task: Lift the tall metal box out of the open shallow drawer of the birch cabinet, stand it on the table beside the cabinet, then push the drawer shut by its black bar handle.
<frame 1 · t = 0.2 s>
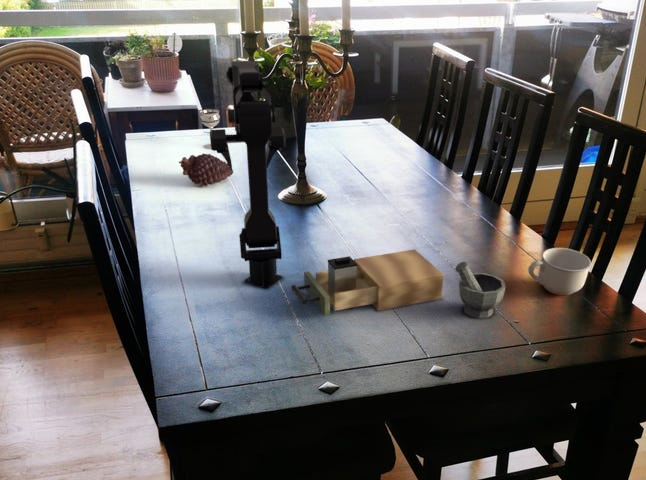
hand: (248, 167, 190), 15 cm above the table, tool pointing down, fingers open, 9 cm apart
mortar and pestle: (475, 312, 159), on the table
metal box: (341, 292, 161), point 2 cm above the table, touching drawer
wineglass: (212, 147, 256), on the table
drawer: (336, 289, 160), point 3 cm above the table, slide at 11.0 cm, touching metal box
teacup: (553, 290, 168), on the table
pine cone: (208, 184, 224), on the table
cabinet: (396, 290, 166), on the table
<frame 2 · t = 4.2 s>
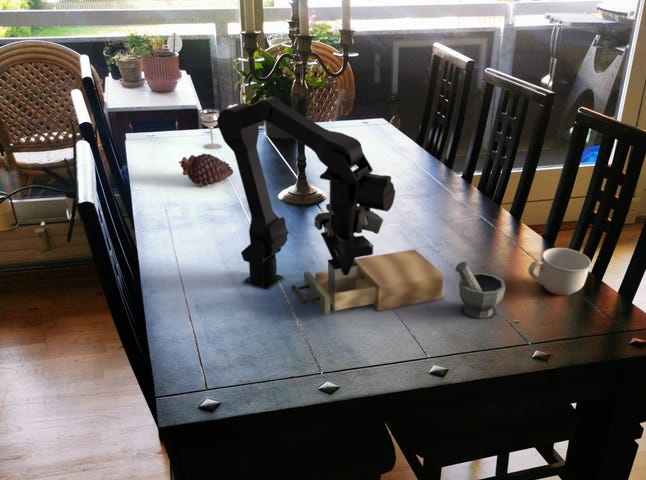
hand: (342, 270, 158), 7 cm above the table, tool pointing down, fingers closed on metal box, 4 cm apart
metal box: (341, 292, 161), point 2 cm above the table, touching drawer, gripper
everything else where it was.
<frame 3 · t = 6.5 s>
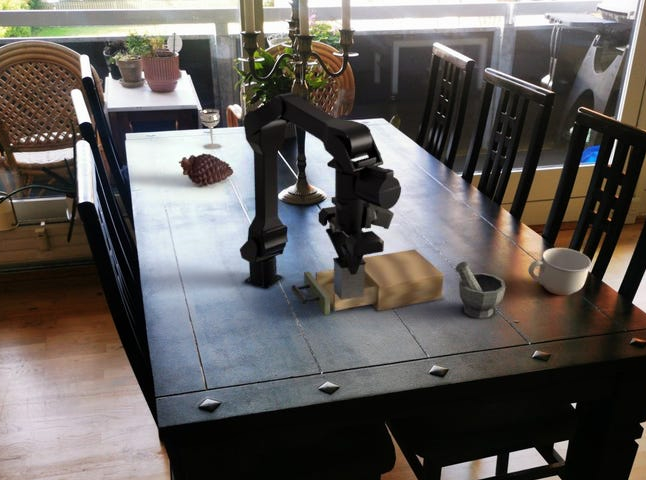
hand: (349, 269, 145), 13 cm above the table, tool pointing down, fingers closed on metal box, 4 cm apart
metal box: (348, 293, 148), point 8 cm above the table, touching gripper
drawer: (336, 289, 160), point 3 cm above the table, slide at 11.0 cm
everything else where it was.
when the fingers open (5 cm above the table, at t = 9.0 s): metal box stays where it is, on the table.
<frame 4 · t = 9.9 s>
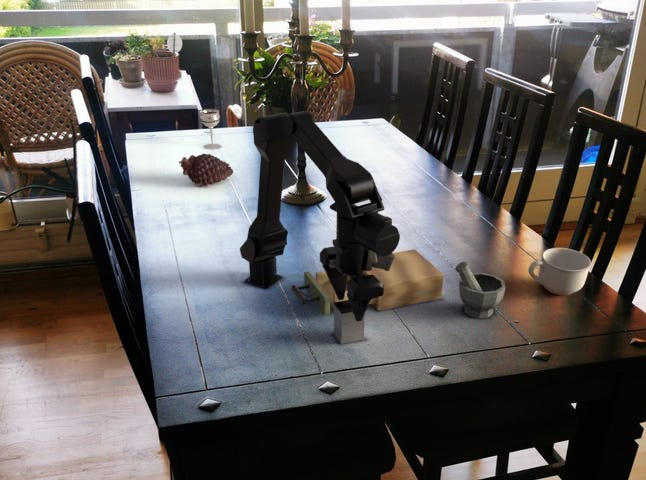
hand: (349, 310, 146), 6 cm above the table, tool pointing down, fingers open, 9 cm apart
metal box: (348, 337, 149), on the table
everything else where it was.
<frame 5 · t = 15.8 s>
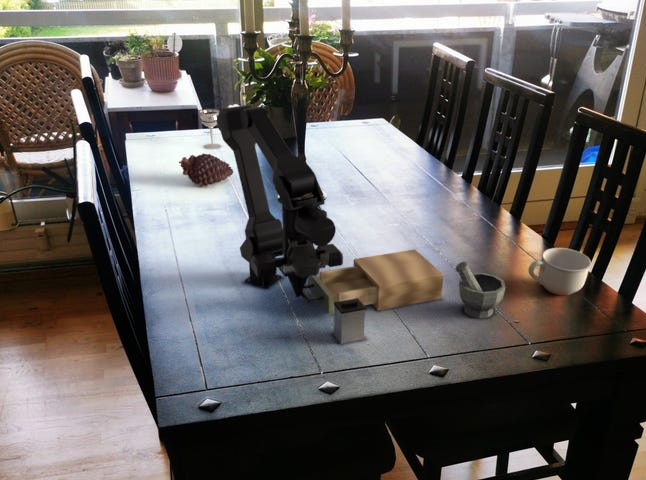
hand: (297, 296, 157), 3 cm above the table, tool pointing down, fingers closed
drawer: (340, 288, 160), point 3 cm above the table, slide at 10.1 cm, touching gripper
everything else where it was.
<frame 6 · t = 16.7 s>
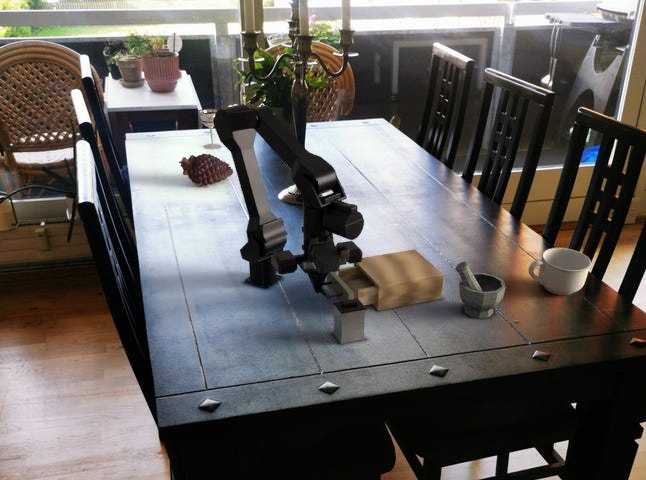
hand: (317, 292, 159), 3 cm above the table, tool pointing down, fingers closed
drawer: (358, 285, 162), point 3 cm above the table, slide at 5.6 cm, touching gripper
everything else where it was.
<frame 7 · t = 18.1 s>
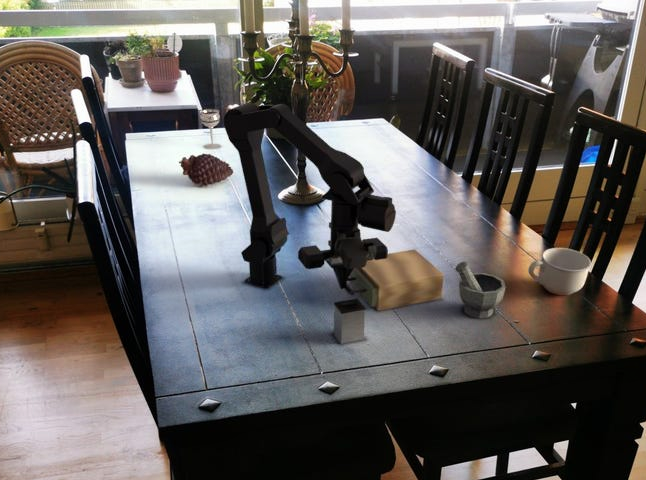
hand: (341, 288, 160), 3 cm above the table, tool pointing down, fingers closed
drawer: (381, 281, 164), point 3 cm above the table, slide at 0.0 cm, touching cabinet, gripper
everything else where it was.
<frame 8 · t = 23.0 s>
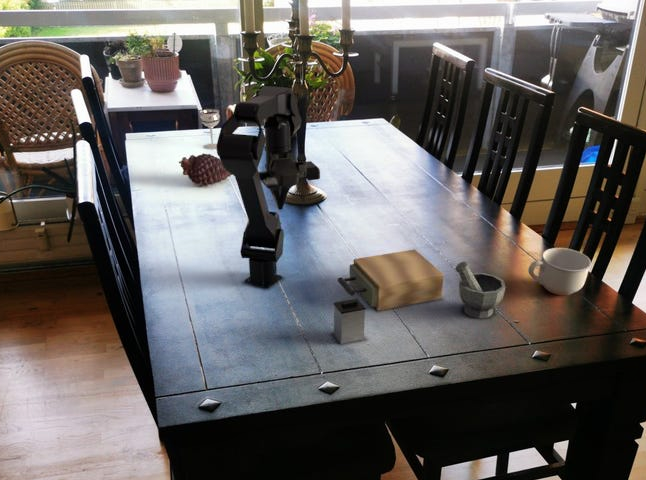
hand: (280, 209, 175), 12 cm above the table, tool pointing down, fingers closed
drawer: (381, 281, 164), point 3 cm above the table, slide at 0.0 cm
everything else where it was.
at the end: metal box inside the target area (0.1 cm from its centre), on the table; metal box tilted 0°; drawer slide at 0.0 cm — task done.
